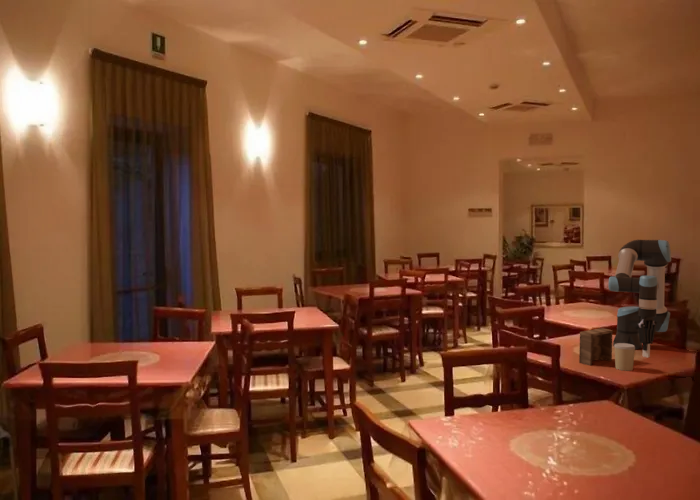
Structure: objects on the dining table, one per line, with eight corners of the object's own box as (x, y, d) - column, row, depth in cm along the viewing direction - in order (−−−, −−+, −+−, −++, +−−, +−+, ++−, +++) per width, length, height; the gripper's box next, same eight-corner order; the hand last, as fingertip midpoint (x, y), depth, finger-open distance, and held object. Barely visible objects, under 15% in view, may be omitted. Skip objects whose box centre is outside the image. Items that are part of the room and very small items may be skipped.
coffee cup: (630, 366, 281) (630, 343, 280) (637, 371, 271) (638, 347, 271) (610, 366, 281) (611, 342, 281) (617, 371, 272) (618, 347, 271)
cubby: (600, 358, 297) (601, 328, 296) (611, 360, 292) (612, 330, 291) (579, 362, 288) (579, 331, 287) (590, 365, 282) (590, 334, 281)
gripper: (647, 306, 272) (646, 353, 273) (632, 308, 265) (630, 356, 266) (663, 308, 265) (661, 356, 266) (647, 310, 258) (645, 360, 260)
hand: (646, 356), depth 266 cm, fingers closed
